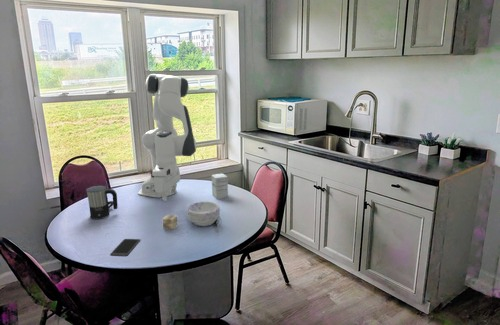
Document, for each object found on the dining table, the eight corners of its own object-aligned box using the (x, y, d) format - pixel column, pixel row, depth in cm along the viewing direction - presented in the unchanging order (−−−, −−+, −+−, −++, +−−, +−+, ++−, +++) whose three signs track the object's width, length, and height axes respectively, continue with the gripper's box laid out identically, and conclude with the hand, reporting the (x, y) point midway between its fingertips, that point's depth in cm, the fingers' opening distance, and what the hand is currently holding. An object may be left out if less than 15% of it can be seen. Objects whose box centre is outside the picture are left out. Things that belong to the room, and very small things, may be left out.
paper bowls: (214, 230, 161) (214, 214, 159) (183, 227, 164) (182, 211, 162) (223, 216, 176) (223, 202, 174) (195, 214, 179) (194, 200, 177)
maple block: (163, 228, 163) (162, 218, 162) (167, 224, 168) (167, 214, 167) (173, 229, 162) (172, 219, 161) (177, 225, 167) (176, 215, 166)
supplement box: (212, 195, 206) (211, 174, 203) (223, 193, 209) (223, 172, 206) (216, 199, 200) (215, 178, 197) (228, 197, 203) (227, 176, 200)
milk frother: (92, 221, 172) (88, 192, 169) (83, 211, 184) (80, 184, 180) (121, 213, 181) (118, 186, 177) (111, 205, 193) (108, 179, 189)
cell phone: (109, 256, 140) (109, 254, 140) (124, 240, 154) (124, 238, 153) (127, 256, 140) (127, 255, 139) (141, 240, 153) (140, 239, 153)
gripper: (170, 161, 168) (172, 188, 172) (150, 173, 149) (153, 204, 152) (182, 161, 167) (184, 189, 171) (163, 173, 148) (166, 204, 151)
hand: (169, 196), depth 161 cm, fingers open, 8 cm apart
